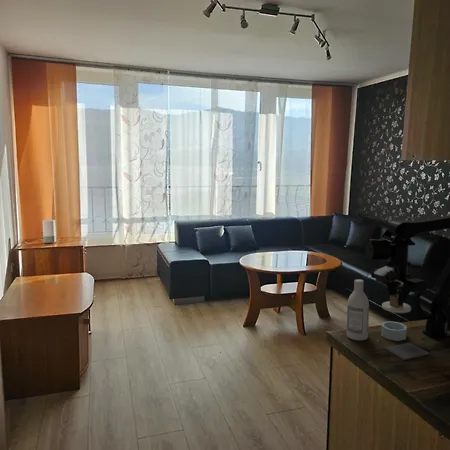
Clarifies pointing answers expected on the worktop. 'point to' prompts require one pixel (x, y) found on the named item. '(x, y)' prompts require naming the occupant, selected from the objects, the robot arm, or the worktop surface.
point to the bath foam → (358, 313)
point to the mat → (406, 351)
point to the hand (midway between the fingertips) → (396, 303)
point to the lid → (395, 305)
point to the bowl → (393, 330)
